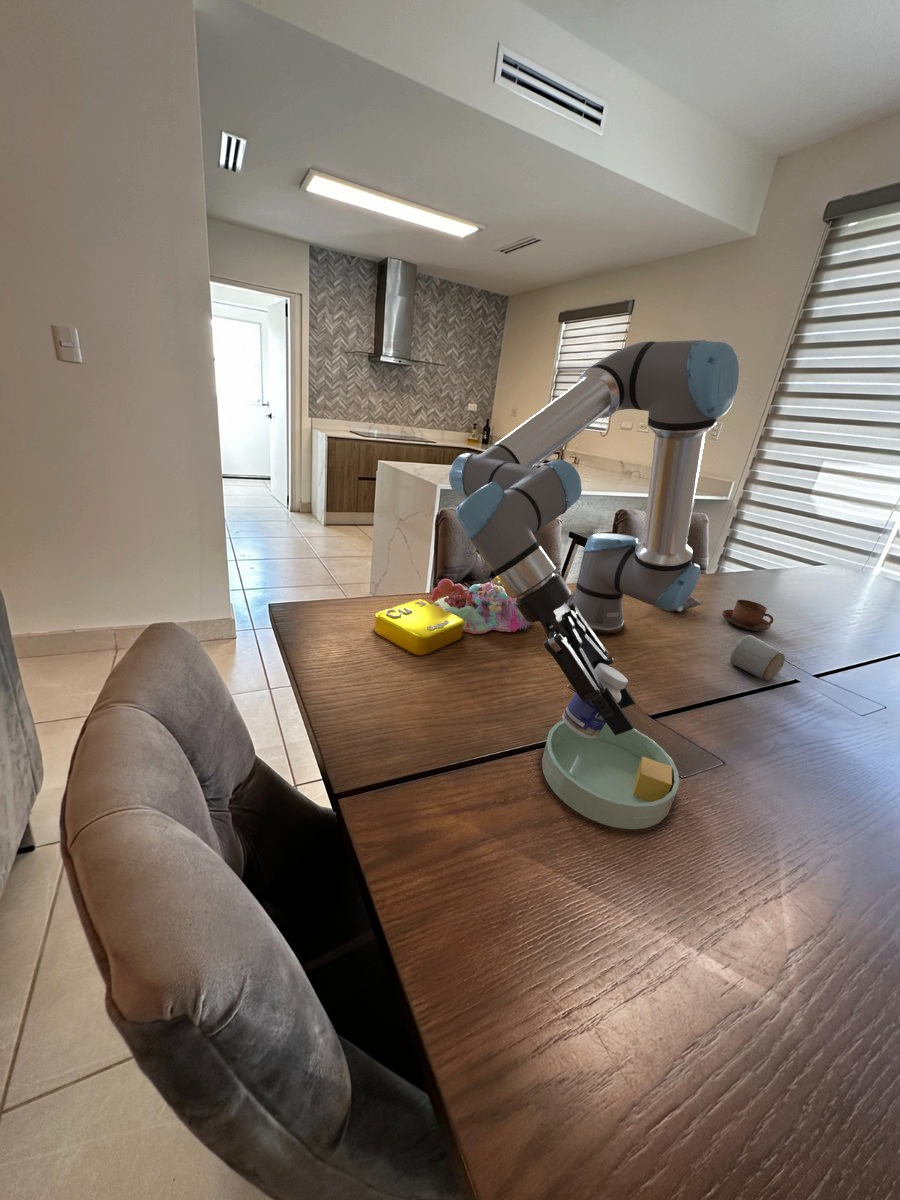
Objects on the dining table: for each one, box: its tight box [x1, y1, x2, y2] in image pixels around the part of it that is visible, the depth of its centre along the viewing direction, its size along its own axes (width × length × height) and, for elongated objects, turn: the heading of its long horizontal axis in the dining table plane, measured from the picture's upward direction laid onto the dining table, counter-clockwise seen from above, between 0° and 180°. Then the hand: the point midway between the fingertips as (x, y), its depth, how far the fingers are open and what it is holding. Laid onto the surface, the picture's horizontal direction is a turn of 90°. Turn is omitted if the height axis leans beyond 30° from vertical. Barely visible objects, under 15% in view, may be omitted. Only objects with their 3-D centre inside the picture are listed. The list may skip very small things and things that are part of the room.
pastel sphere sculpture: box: [430, 576, 532, 635], centre depth 117 cm, size 25×24×9 cm
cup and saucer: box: [722, 599, 774, 632], centre depth 131 cm, size 12×12×6 cm
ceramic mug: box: [730, 634, 786, 681], centre depth 105 cm, size 11×8×8 cm
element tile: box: [374, 599, 464, 656], centre depth 104 cm, size 15×15×5 cm
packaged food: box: [674, 594, 703, 613], centre depth 138 cm, size 9×12×5 cm
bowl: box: [541, 719, 680, 830], centre depth 68 cm, size 18×18×4 cm
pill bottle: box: [562, 663, 629, 739], centre depth 68 cm, size 6×6×10 cm
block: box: [633, 756, 672, 802], centre depth 66 cm, size 4×4×4 cm
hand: (625, 717), depth 68 cm, fingers closed on pill bottle, 6 cm apart
